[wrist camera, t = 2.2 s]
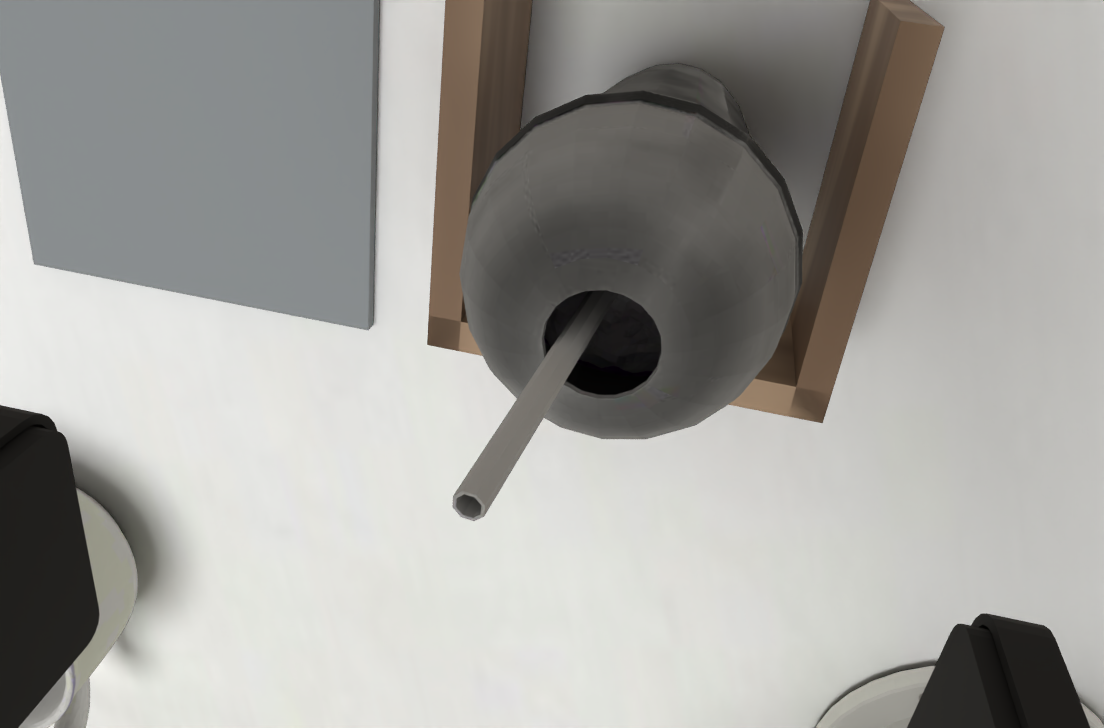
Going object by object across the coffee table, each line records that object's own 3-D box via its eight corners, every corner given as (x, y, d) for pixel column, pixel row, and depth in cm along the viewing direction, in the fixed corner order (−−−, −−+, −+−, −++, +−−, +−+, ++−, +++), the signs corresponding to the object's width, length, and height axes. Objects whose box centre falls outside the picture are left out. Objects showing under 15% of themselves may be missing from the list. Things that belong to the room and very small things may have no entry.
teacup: (-63, 423, 42) (-225, 530, 35) (148, 450, 40) (22, 568, 33) (17, 644, 49) (-106, 771, 42) (202, 676, 47) (106, 814, 40)
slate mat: (380, -77, 28) (375, -76, 28) (373, 324, 35) (368, 330, 34) (-26, -135, 30) (-37, -134, 29) (42, 259, 37) (34, 264, 36)
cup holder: (907, -2, 26) (944, 27, 21) (811, 334, 32) (822, 423, 26) (505, -59, 28) (447, -46, 22) (479, 271, 33) (427, 344, 28)
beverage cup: (804, 218, 30) (871, 684, 12) (592, 260, 32) (397, 707, 15) (765, -13, 27) (785, 177, 10) (535, 50, 29) (207, 297, 12)
